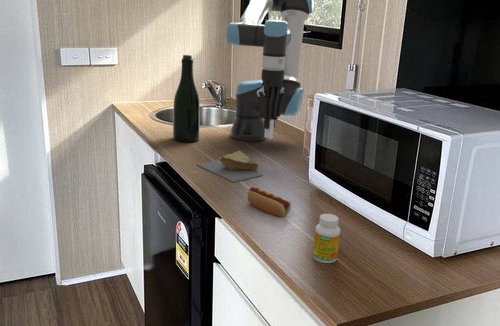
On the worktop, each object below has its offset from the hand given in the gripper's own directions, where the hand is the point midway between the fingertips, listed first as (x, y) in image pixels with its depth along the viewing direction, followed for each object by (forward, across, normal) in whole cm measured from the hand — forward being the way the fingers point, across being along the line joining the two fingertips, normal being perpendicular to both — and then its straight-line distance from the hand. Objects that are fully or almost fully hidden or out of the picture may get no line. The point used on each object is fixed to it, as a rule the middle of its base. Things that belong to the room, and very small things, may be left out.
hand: (268, 137), depth 169 cm
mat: (+9, -17, 0) cm, 19 cm away
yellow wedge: (+7, -9, 0) cm, 11 cm away
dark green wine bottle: (+9, -8, +39) cm, 41 cm away
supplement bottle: (+8, -36, -58) cm, 69 cm away
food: (+9, -28, -32) cm, 43 cm away
